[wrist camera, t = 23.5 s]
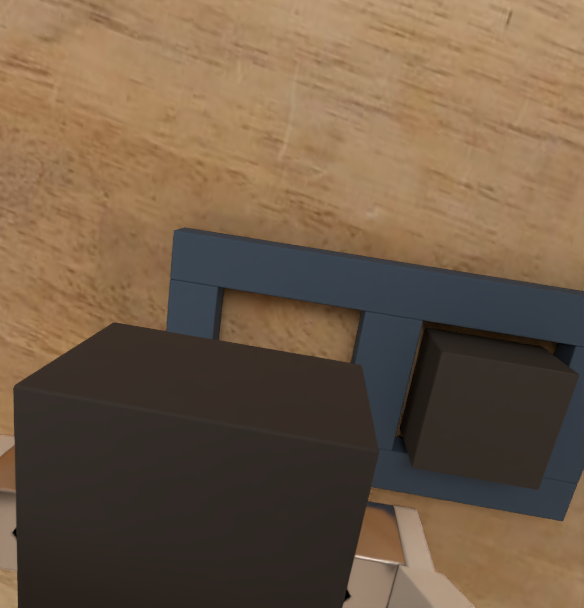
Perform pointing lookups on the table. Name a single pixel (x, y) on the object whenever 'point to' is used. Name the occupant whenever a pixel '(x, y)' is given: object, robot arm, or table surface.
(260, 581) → the dark brown square block
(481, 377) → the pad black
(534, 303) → the dark grey flat frame
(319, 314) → the table surface
